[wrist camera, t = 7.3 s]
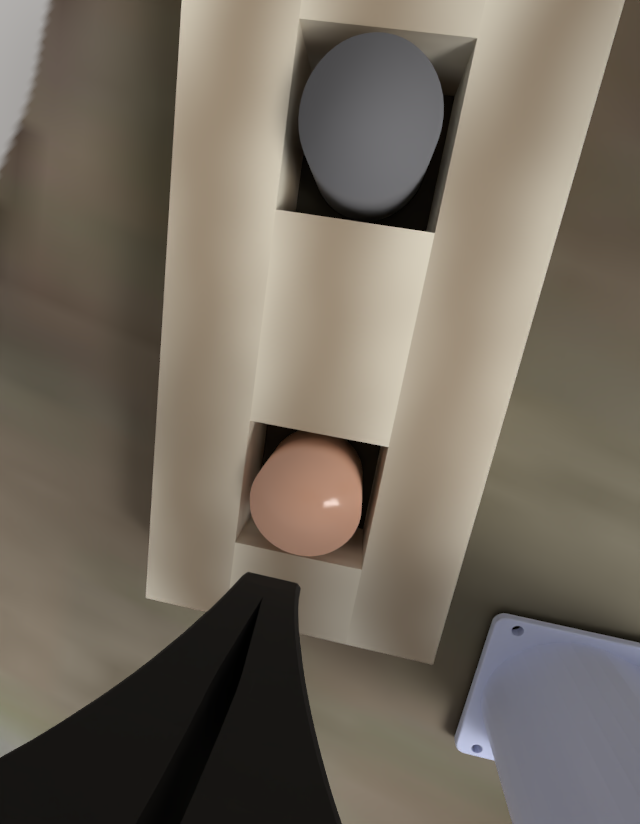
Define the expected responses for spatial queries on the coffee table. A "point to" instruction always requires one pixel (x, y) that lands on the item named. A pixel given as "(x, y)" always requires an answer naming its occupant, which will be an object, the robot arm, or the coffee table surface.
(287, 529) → the terracotta button
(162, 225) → the coffee table surface
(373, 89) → the charcoal button
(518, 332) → the button panel
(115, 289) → the coffee table surface
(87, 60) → the coffee table surface
